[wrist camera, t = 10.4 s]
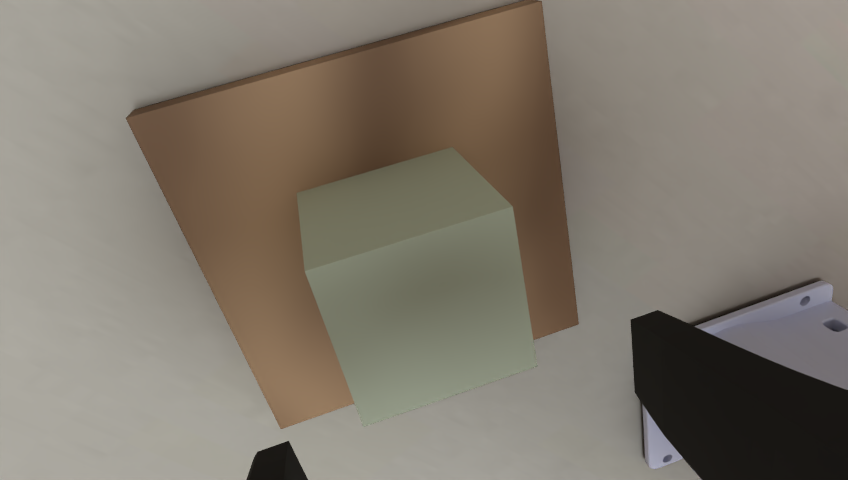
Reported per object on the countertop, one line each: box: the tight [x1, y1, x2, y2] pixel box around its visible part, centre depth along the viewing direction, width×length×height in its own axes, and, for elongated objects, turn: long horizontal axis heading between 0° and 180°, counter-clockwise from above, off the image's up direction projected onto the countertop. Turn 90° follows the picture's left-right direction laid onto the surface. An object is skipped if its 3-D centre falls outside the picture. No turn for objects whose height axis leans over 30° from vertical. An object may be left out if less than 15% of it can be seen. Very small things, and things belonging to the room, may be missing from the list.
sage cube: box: [297, 147, 537, 427], centre depth 16 cm, size 5×5×5 cm
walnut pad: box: [126, 0, 579, 429], centre depth 19 cm, size 12×12×1 cm
